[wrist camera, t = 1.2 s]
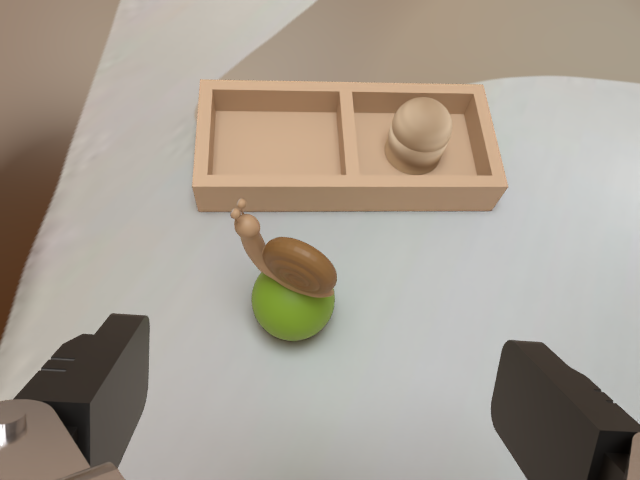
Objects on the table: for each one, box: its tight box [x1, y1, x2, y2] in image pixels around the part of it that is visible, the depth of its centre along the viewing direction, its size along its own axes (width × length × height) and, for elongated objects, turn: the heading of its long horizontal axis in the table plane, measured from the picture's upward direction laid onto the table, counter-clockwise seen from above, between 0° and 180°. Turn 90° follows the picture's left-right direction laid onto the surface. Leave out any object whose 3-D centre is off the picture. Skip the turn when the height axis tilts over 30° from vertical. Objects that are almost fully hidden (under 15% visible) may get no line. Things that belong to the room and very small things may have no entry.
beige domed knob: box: [385, 97, 452, 175], centre depth 41 cm, size 5×5×5 cm
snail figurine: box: [230, 199, 337, 341], centre depth 32 cm, size 5×6×12 cm
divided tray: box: [192, 80, 508, 212], centre depth 42 cm, size 23×10×4 cm, turn 93°
